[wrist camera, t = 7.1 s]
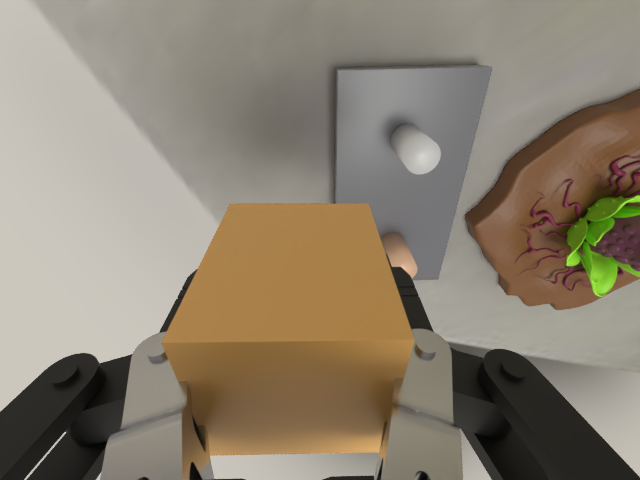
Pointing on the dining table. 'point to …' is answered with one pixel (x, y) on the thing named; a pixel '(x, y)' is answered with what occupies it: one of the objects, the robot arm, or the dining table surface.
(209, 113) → the dining table surface
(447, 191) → the board
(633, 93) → the plant
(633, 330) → the dining table surface
